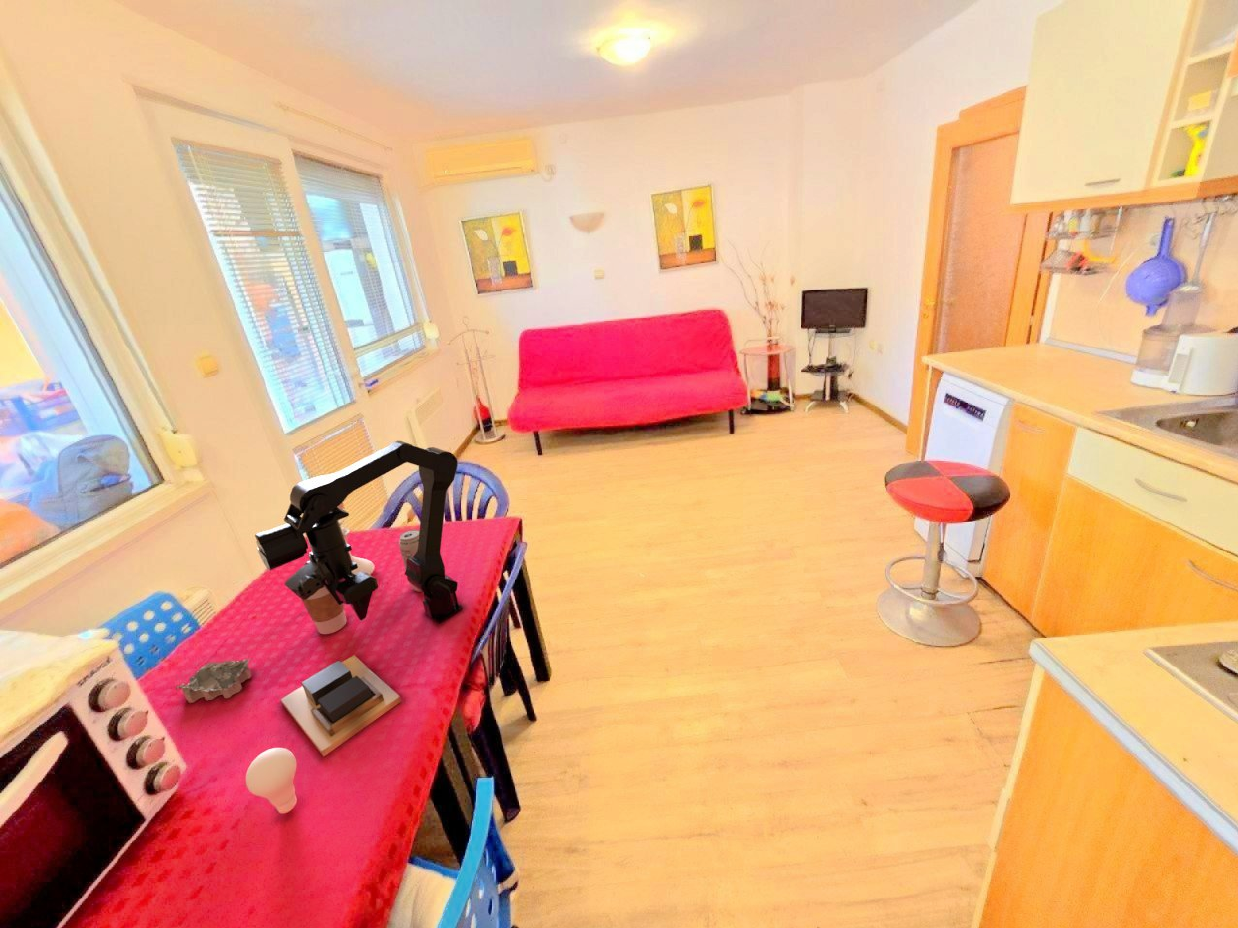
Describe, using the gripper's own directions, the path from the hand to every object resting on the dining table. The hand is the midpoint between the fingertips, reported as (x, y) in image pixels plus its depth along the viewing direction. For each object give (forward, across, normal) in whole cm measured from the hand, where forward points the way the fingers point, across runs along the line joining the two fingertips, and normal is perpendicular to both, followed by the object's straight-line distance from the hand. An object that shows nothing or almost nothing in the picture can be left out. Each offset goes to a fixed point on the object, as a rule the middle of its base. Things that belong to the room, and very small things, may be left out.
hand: (351, 611), depth 102 cm
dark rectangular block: (+10, +12, -9) cm, 18 cm away
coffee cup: (+12, -17, 0) cm, 21 cm away
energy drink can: (+12, -13, +21) cm, 28 cm away
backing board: (+12, +8, -9) cm, 17 cm away
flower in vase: (+12, -34, +13) cm, 38 cm away
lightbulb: (+12, +22, -24) cm, 34 cm away
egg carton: (+12, -18, -22) cm, 30 cm away
